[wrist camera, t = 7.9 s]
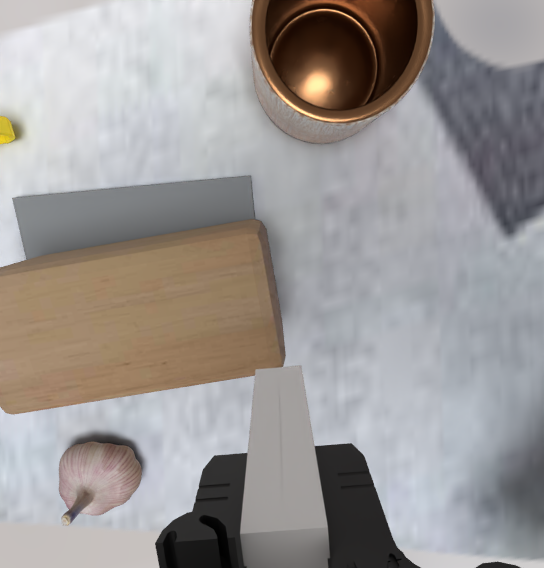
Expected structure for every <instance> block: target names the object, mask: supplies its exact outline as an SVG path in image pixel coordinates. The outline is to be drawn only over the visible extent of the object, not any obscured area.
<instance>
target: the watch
mask: <svg viewBox="0 0 544 568" xmlns="http://www.w3.org/2000/svg"><path fill="white" fill-rule="evenodd" d="M14 139H15V134H14V131H13V128H12V125H11V122H10V121H9V120H8V119H7V118H6V117H3V116H0V144H4V143H10V142H11V141H13V140H14Z"/></svg>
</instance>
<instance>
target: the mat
mask: <svg viewBox="0 0 544 568" xmlns="http://www.w3.org/2000/svg"><path fill="white" fill-rule="evenodd" d="M12 199H13V204H14V208H15V212H16V217H17V221H18V225H19V229H20V234H21V238H22V242H23V247H24V251H25V255H26V260H28V259H32V258H35V257H38V256H42V255H48V254H54V253H60V252H65V251H71V250H77V249H83V248H88V247H94V246H100V245H106V244H111V243H117V242H123V241H129V240H134V239H140V238H146V237H152V236H157V235H163V234H169V233H175V232H180V231H186V230H192V229H197V228H203V227H209V226H215V225H220V224H226V223H232V222H238V221H243V220H249V219H254V220H255V216H254V206H253V196H252V186H251V176H242V177H231V178H220V179H210V180H199V181H188V182H178V183H167V184H156V185H145V186H135V187H124V188H113V189H103V190H92V191H81V192H71V193H60V194H49V195H39V196H28V197H17V198H12Z"/></svg>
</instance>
